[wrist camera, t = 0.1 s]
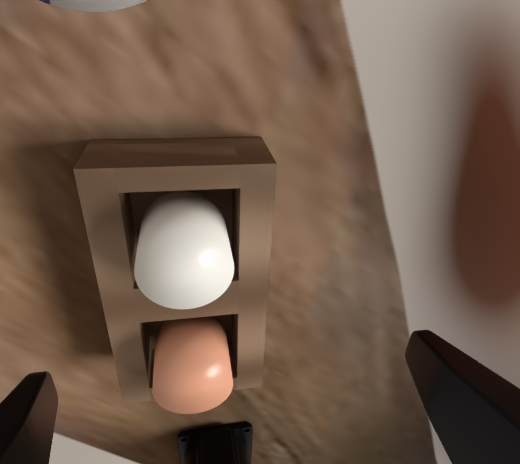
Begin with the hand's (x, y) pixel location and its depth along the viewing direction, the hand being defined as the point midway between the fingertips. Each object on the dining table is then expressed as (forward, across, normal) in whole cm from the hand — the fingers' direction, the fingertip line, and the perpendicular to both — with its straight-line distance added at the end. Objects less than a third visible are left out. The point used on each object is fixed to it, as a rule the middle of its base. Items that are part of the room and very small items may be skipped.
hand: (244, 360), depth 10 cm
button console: (+14, +2, +7) cm, 16 cm away
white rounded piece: (+12, +1, +3) cm, 12 cm away
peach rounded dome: (+12, +2, +11) cm, 16 cm away
